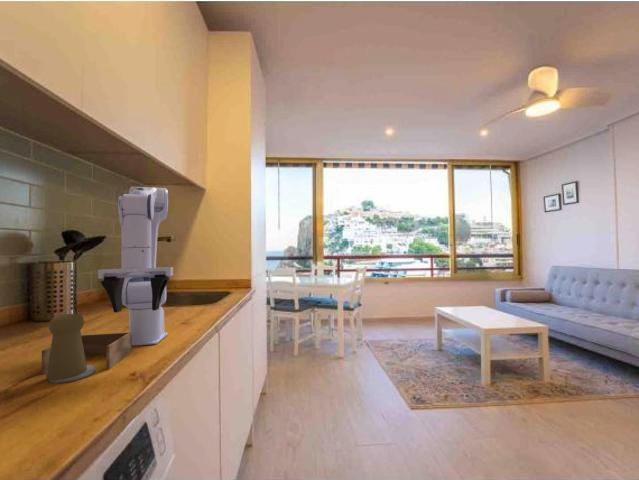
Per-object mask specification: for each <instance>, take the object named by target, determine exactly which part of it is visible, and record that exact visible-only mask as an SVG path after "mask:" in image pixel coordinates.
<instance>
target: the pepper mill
mask: <svg viewBox="0 0 639 480" xmlns="http://www.w3.org/2000/svg"><path fill="white" fill-rule="evenodd" d="M84 325H85V321H84V317H83V316H82V315H81V314H79V313H66V314H61V315H57V316H54V317H53V318H51V319H50V321H49V323H48V329H49V333H51V334H52V338H51V346H50V347H51V350H50V357H49V363H48V370H47V373H46V380H48V381H49V380H60V379H66V378H70V377H74V376H77V375H80V374H82V373H84V372H85V371H86V370H87V366H86V365H87V362H86V361H87V360H86V356H85V354H84V349H83V343H82V337H81V335H82V333H81V330H82V329H83V327H84Z"/></svg>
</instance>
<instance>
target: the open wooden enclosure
mask: <svg viewBox="0 0 639 480" xmlns="http://www.w3.org/2000/svg"><path fill="white" fill-rule="evenodd" d="M81 337H82V343H83V349H84V354H85V357H86V356H100V355H106V370H110V369H112V368H113V367H114V366H115V365H117V364H118V363H119V362H121V361H122V360H123V359H124V358H126V357H127V356H129V355H130V354H131V353H132V349H133V347H132V332H131V333H129V332H118V333H116V332H114V333H100V334H99V333H97V334H96V333H95V334H81ZM50 350H51V346H49V347H46V348H44V349H42V350H41V375H44V374H47V370H48V363H49V357H50Z"/></svg>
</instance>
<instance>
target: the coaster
mask: <svg viewBox="0 0 639 480" xmlns="http://www.w3.org/2000/svg"><path fill="white" fill-rule="evenodd" d="M86 366H87V370H86V371H85V372H84V373H82V374H80V375H77V376H74V377H70V378H66V379H60V380H49V379H48V382H49V383H51V384H65V383H71V382H76V381H79V380H83V379H86V378H88V377H90V376H92V375H93V374H95V373H96V367H95V366H94V365H90V364H89V365H88V364H86Z"/></svg>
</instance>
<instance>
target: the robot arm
mask: <svg viewBox="0 0 639 480" xmlns="http://www.w3.org/2000/svg"><path fill="white" fill-rule="evenodd" d="M117 201H118V202H117V209H118V210H117V212H118V216H119V227H121V268H110V269H109V268H107V269H106V268H105V269H98V271H97V278H98V280H99V279H102V280H101V281H100V282H101V283H100V284H101V285H102V288H104V290H105V292H106V293H107V296H108V297H109V300H110V302H111V305H112V309H113V313H119V312H122V308H123V306H124V307H127V310H128V325H129V326H128V333H131V332H132V346H144V345H149V346H150V345H157V344H159V342H161V341H162V340H163V339H164V338H165V337H166V336H168V335H169V332H165V311H164V308H163V307H162V305H163V304H165V303H166V301H167V285H168V283H169V280H170V277H172V276H174V267H173V266H168V267H167V266H165V267H163V266H161V267H160V266H159V267H157V251H158V250H157V248H158V235H159V234H158V232H159V227H160V224H161V222H163V221H164V220H166V219H167V218H168V217H167V216H168V213H169V212H168V208H169V190H168V189H167V188H166V187H152V186H151V187H149V186H130V188H129V189H128V193H124V194H123V195H122V196H121V195H120V196H118V199H117Z"/></svg>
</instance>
